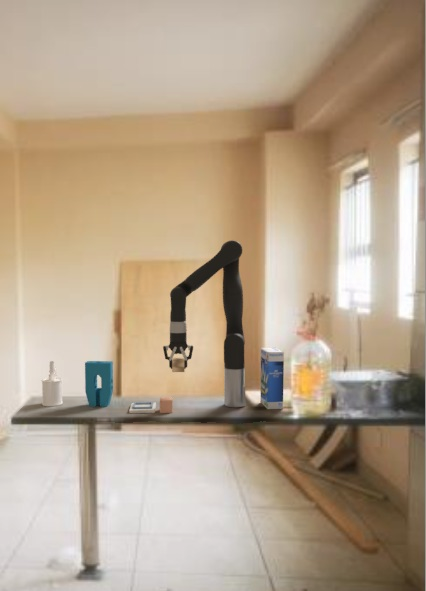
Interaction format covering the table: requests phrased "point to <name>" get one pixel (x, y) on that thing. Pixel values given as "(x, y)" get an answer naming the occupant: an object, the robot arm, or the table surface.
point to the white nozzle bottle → (52, 388)
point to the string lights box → (272, 378)
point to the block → (106, 373)
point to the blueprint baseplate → (142, 407)
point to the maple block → (177, 364)
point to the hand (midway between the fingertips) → (178, 368)
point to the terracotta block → (166, 404)
